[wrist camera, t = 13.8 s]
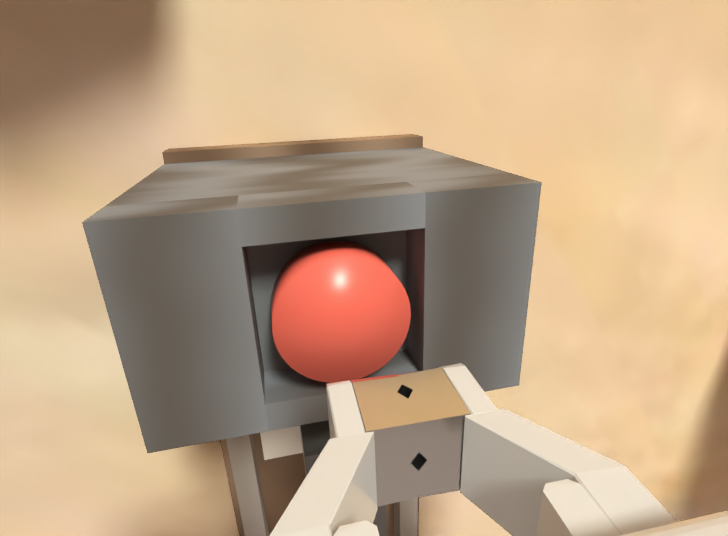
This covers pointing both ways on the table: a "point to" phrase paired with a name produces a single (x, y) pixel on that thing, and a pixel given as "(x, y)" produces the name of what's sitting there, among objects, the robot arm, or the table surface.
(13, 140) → the table surface
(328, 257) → the button
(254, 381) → the track
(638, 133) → the table surface
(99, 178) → the table surface
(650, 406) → the table surface
